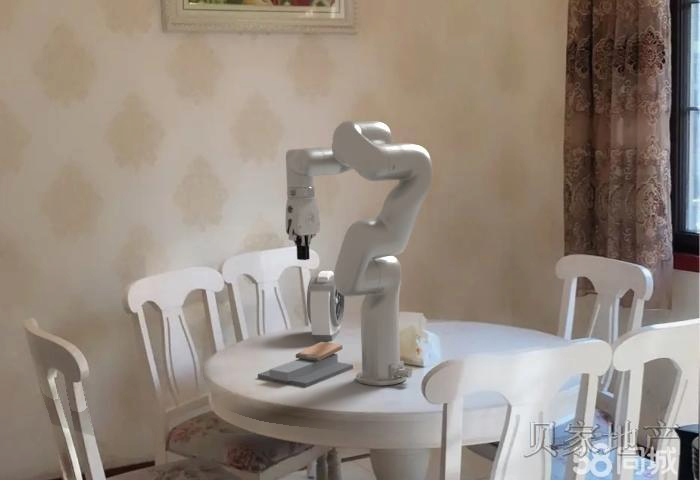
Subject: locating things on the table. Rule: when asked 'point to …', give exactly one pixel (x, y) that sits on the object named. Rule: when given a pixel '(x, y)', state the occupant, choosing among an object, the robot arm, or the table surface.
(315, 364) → the grey ridged base plate
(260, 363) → the table surface
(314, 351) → the flap
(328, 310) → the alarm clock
